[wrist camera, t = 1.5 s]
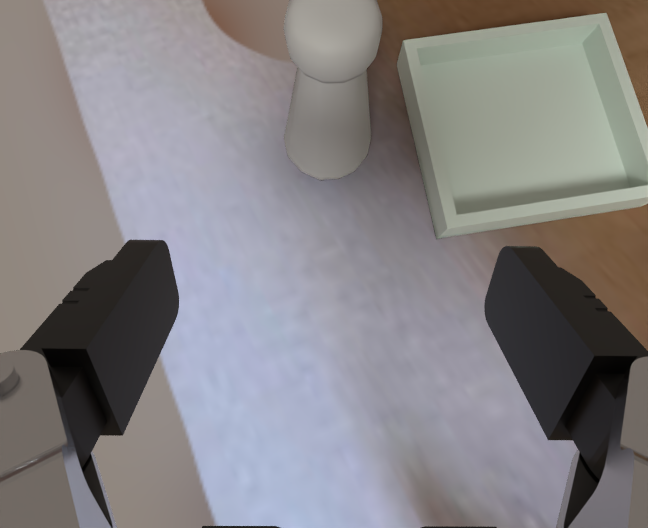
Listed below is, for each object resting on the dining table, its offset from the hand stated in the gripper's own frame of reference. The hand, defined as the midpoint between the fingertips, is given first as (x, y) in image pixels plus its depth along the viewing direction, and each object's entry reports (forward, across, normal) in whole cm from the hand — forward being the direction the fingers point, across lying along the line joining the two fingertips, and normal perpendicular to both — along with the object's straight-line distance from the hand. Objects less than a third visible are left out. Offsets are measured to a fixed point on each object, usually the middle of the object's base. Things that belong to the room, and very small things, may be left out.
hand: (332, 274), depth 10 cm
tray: (+22, -14, +2) cm, 26 cm away
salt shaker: (+21, 0, +4) cm, 21 cm away
